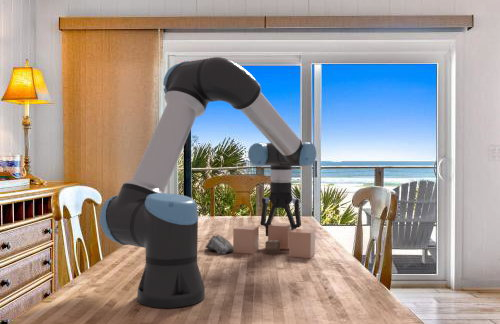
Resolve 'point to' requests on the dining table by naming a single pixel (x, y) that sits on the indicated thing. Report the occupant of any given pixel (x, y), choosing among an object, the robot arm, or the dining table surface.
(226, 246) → the fossilized seashell
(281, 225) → the cover mid
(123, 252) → the dining table surface
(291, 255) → the salmon pink box
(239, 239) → the peach colored cube
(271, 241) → the letter cube
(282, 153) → the robot arm
